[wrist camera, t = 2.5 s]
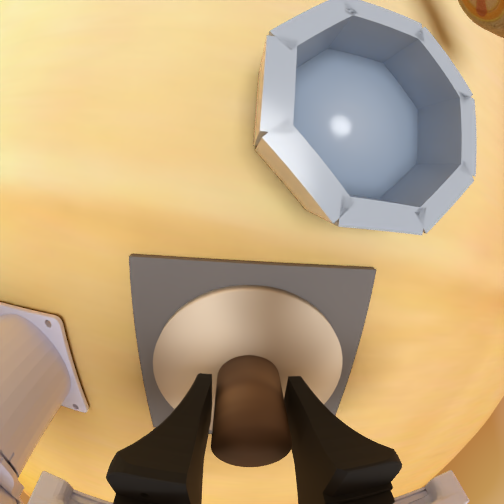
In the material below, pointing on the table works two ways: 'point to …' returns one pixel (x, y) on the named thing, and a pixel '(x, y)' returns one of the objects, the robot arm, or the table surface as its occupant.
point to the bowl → (365, 118)
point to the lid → (248, 364)
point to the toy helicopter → (486, 14)
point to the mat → (243, 273)
